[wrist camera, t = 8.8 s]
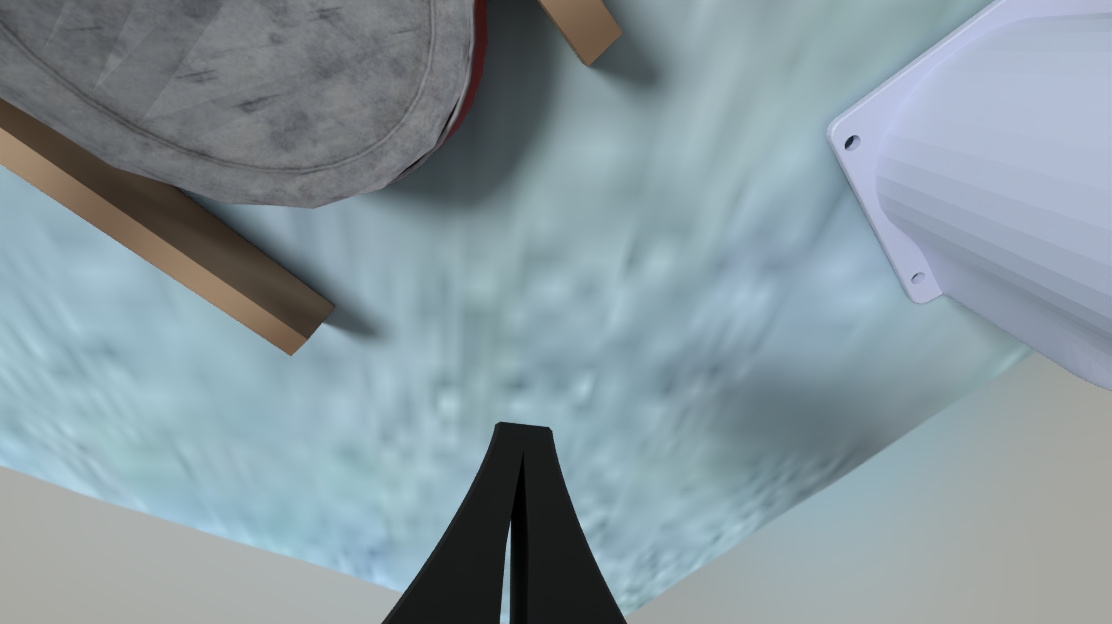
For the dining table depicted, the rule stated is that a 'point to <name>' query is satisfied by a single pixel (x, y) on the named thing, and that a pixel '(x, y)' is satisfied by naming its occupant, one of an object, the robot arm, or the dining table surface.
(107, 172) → the brown wooden u-shaped piece
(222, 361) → the dining table surface
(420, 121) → the canned food
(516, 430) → the robot arm
